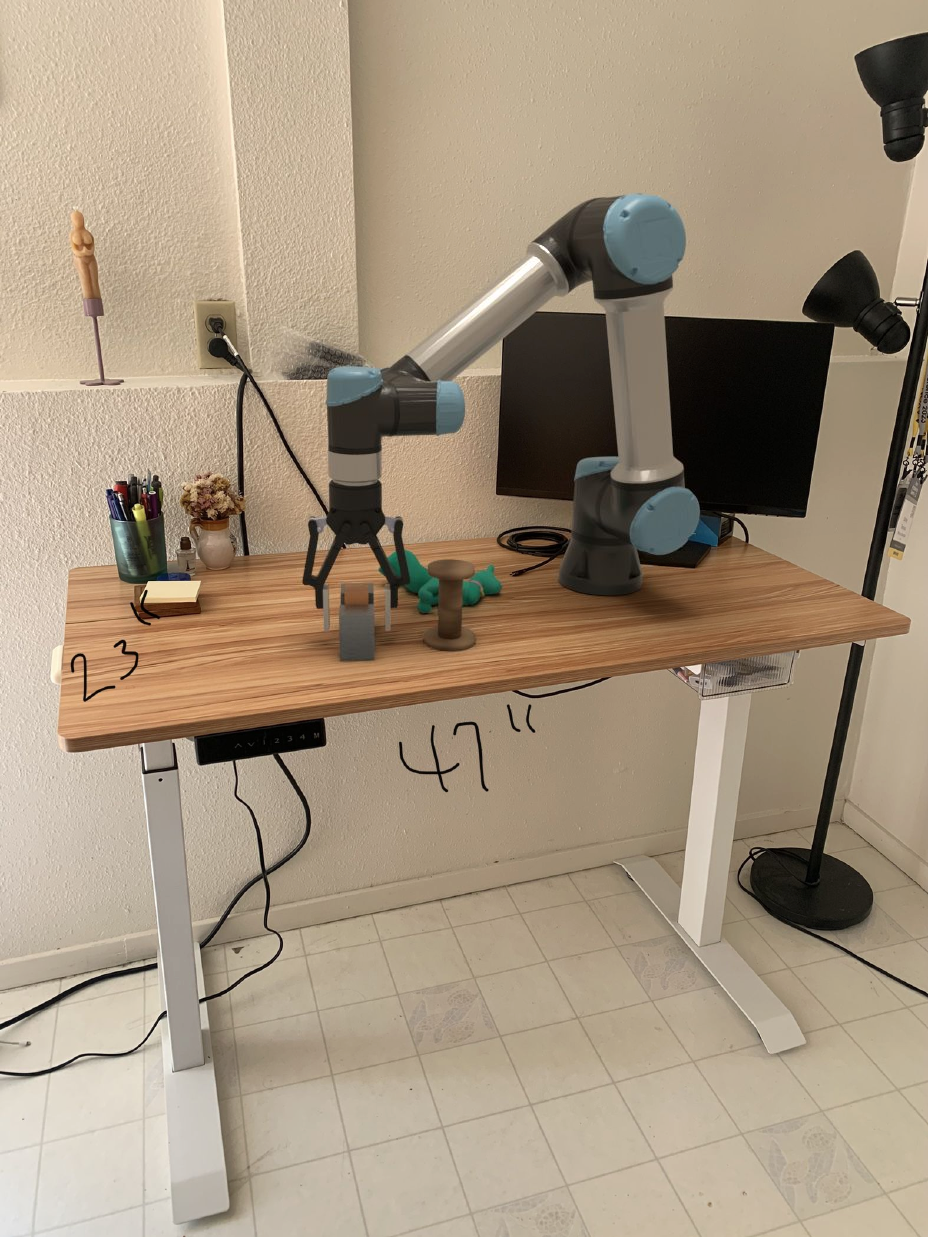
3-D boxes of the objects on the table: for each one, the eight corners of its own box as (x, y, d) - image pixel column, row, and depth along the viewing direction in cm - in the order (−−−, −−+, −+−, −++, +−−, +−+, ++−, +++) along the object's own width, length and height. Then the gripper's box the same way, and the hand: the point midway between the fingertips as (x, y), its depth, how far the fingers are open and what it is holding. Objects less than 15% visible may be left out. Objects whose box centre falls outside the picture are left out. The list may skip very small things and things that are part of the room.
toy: (483, 596, 148) (512, 558, 166) (357, 570, 153) (398, 535, 170) (478, 635, 151) (507, 593, 169) (355, 608, 155) (395, 570, 173)
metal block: (373, 624, 147) (373, 583, 145) (374, 660, 134) (374, 615, 132) (342, 625, 147) (341, 583, 144) (339, 660, 134) (338, 615, 131)
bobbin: (472, 630, 146) (475, 558, 142) (478, 650, 139) (481, 574, 134) (421, 631, 145) (422, 558, 141) (425, 651, 138) (426, 575, 134)
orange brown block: (368, 636, 139) (368, 592, 136) (345, 636, 139) (344, 592, 136) (368, 627, 142) (368, 584, 140) (345, 627, 142) (344, 584, 139)
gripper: (428, 474, 136) (426, 618, 144) (281, 473, 134) (288, 619, 142) (431, 486, 129) (429, 636, 137) (277, 485, 127) (284, 638, 135)
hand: (357, 627), depth 140 cm, fingers open, 8 cm apart
